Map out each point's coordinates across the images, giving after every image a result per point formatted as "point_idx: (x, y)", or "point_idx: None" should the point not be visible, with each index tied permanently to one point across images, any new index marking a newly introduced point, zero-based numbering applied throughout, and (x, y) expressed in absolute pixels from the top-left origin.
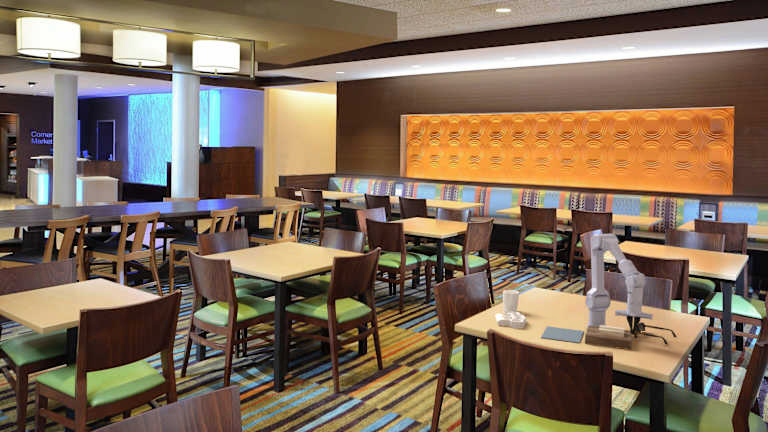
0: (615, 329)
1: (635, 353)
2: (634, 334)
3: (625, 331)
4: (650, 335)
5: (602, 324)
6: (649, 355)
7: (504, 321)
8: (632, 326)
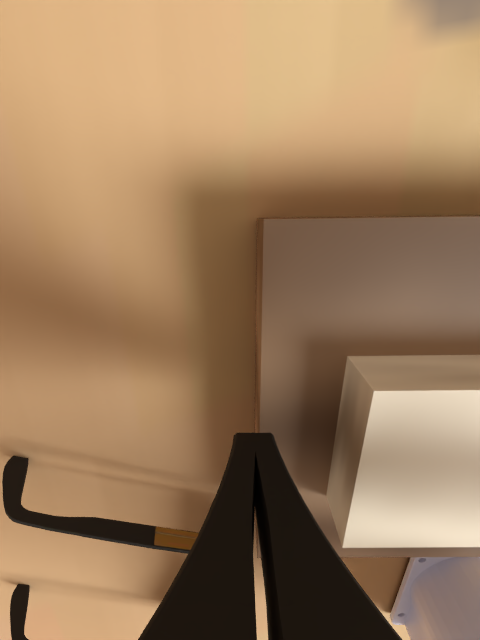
0: (467, 470)
1: (206, 89)
2: None
3: None
4: (114, 528)
5: (458, 610)
6: (60, 88)
7: None
8: (267, 553)
